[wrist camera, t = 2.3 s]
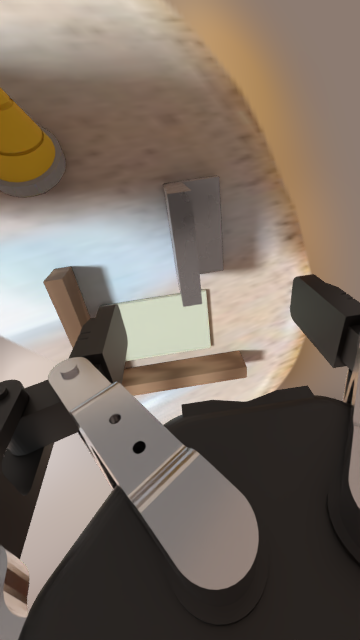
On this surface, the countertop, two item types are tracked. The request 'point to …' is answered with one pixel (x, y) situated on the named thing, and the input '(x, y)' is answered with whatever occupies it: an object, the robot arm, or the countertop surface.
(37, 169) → the yellow spiral cone
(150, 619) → the robot arm
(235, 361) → the corner walls
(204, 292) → the mat
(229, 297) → the countertop surface
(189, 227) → the angle bracket
